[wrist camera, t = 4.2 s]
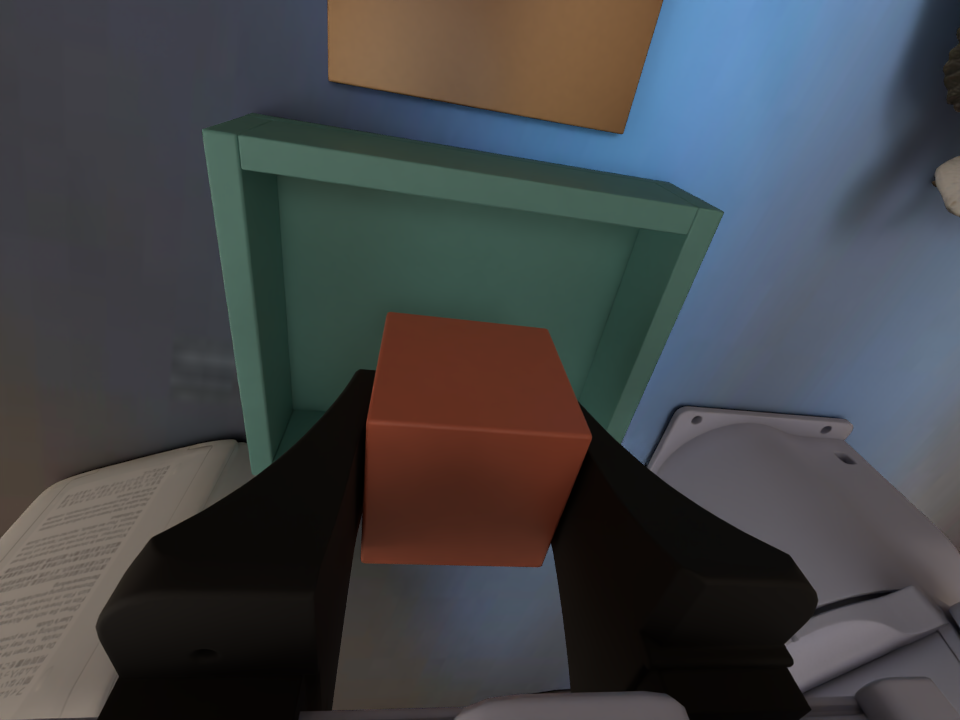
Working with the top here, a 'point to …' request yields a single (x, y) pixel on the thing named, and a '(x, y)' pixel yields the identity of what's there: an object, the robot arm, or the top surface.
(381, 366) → the block
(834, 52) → the top surface
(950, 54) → the eagle figurine
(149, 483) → the white rounded flat block
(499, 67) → the coaster
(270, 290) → the bin
